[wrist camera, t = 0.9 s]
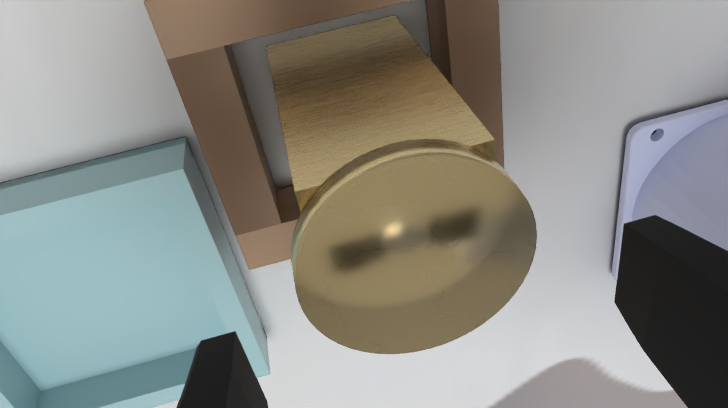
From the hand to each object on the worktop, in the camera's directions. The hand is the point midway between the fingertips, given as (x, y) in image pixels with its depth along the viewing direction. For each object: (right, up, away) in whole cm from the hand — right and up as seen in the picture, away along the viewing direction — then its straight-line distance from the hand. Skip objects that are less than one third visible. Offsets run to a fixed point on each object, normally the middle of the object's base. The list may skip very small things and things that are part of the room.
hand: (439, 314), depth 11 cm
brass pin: (-2, +6, +8) cm, 10 cm away
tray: (-11, -1, +10) cm, 15 cm away
